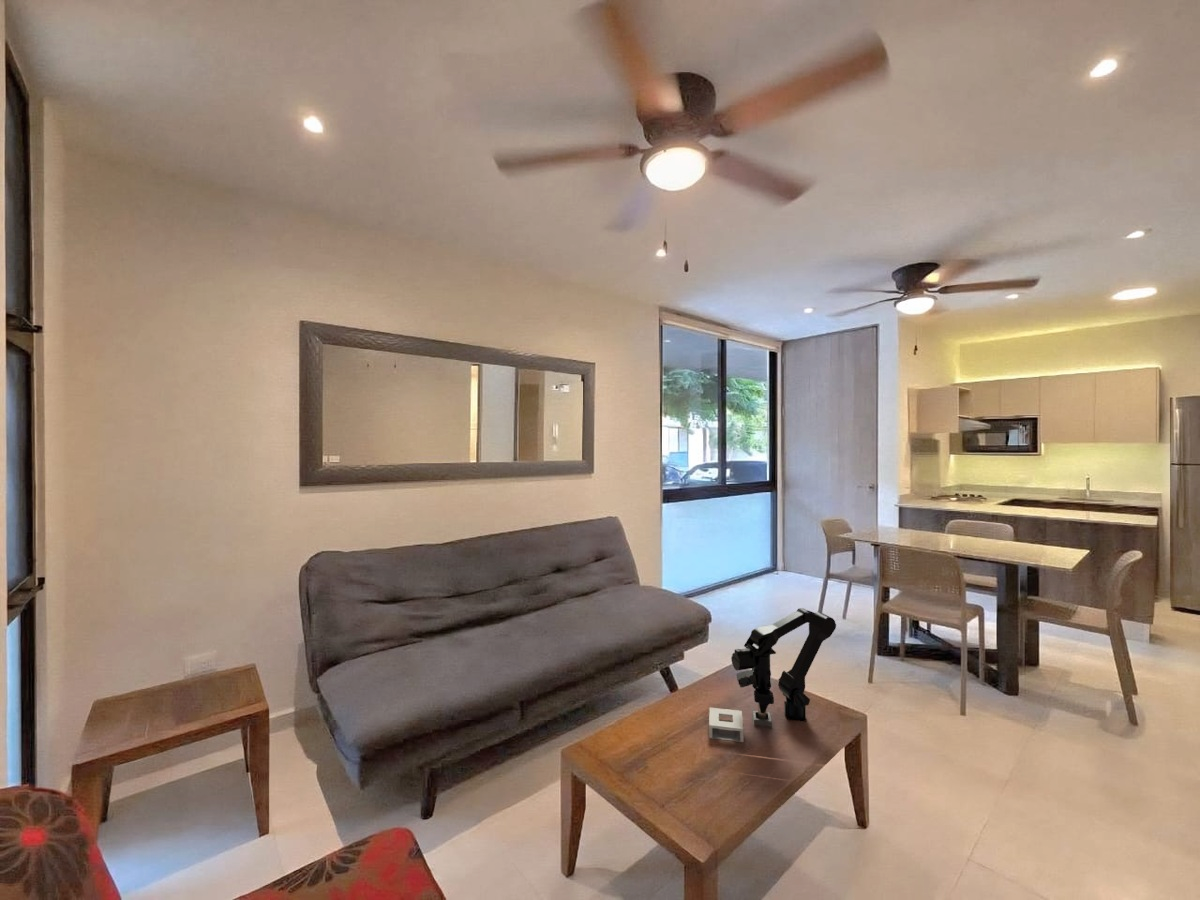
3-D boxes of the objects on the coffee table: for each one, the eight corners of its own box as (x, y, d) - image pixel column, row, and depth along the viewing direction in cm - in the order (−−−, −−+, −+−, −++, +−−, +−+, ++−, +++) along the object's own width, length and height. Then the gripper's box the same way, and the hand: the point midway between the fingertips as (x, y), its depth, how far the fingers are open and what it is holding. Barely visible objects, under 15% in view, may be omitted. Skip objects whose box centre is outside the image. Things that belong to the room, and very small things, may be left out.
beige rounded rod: (765, 719, 176) (766, 698, 176) (766, 723, 173) (767, 701, 173) (757, 718, 176) (758, 696, 176) (758, 722, 174) (758, 700, 174)
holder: (770, 718, 177) (770, 712, 177) (771, 727, 171) (771, 721, 171) (752, 716, 178) (752, 710, 178) (753, 725, 172) (753, 719, 172)
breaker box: (741, 724, 173) (741, 710, 173) (743, 743, 163) (743, 729, 162) (709, 720, 176) (709, 707, 176) (709, 739, 165) (709, 725, 165)
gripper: (737, 653, 185) (737, 694, 185) (739, 676, 167) (739, 722, 167) (768, 655, 182) (768, 697, 183) (773, 679, 164) (774, 726, 165)
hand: (762, 710), depth 174 cm, fingers open, 4 cm apart
